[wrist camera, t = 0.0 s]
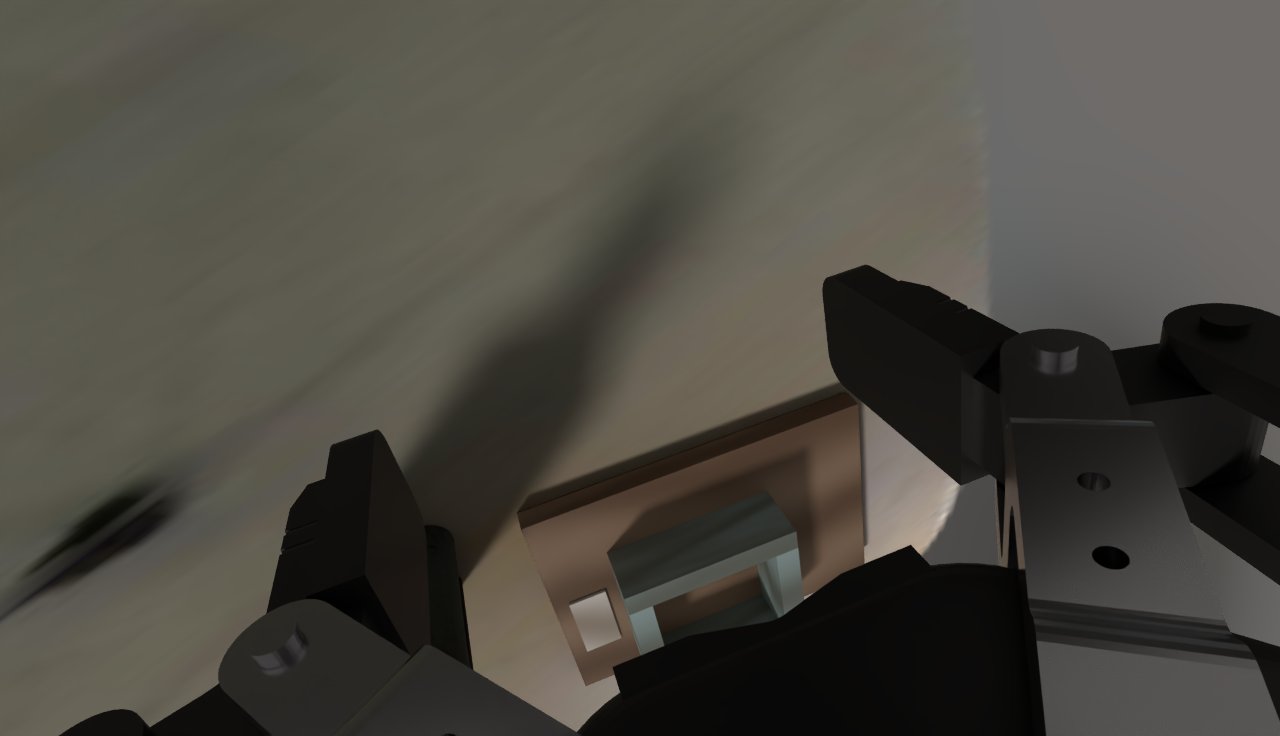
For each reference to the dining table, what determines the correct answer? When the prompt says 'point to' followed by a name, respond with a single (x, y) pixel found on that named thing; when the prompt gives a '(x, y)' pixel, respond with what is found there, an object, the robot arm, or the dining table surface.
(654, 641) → the socket board
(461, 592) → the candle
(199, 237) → the dining table surface
